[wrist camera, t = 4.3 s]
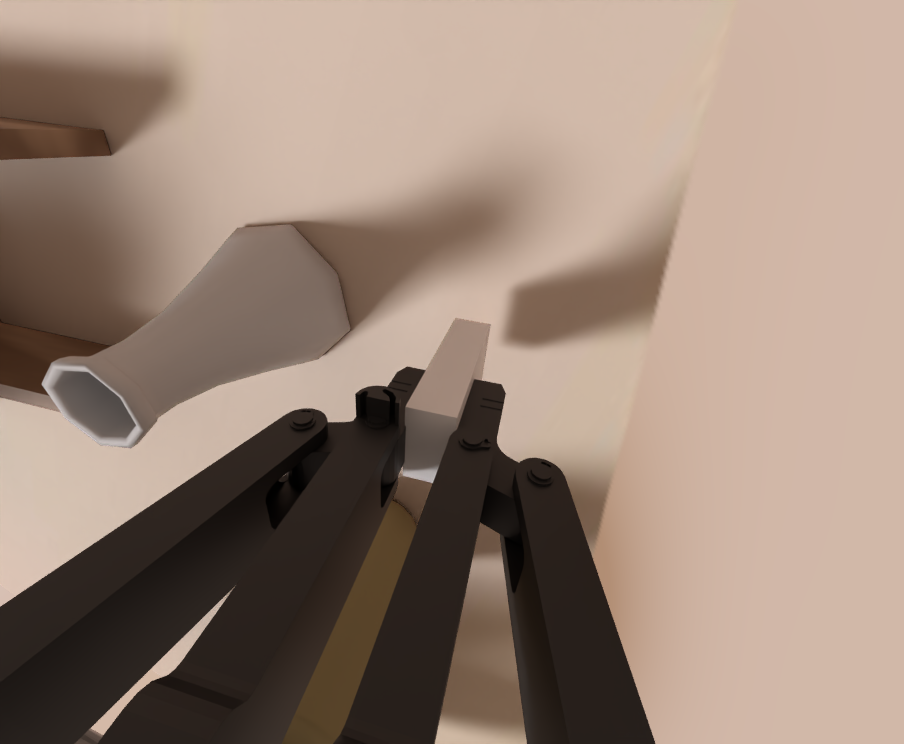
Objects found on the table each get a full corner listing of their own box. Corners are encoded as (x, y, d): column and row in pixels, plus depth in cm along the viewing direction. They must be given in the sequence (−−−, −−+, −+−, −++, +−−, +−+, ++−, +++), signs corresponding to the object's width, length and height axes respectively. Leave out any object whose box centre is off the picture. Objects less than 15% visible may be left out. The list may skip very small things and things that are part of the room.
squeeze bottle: (429, 485, 25) (229, 1031, 10) (438, 566, 29) (306, 1043, 14) (312, 469, 27) (-13, 911, 11) (336, 548, 31) (118, 953, 15)
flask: (299, 195, 18) (62, 248, 9) (375, 337, 20) (249, 479, 12) (192, 254, 20) (-66, 336, 12) (272, 372, 23) (110, 507, 15)
